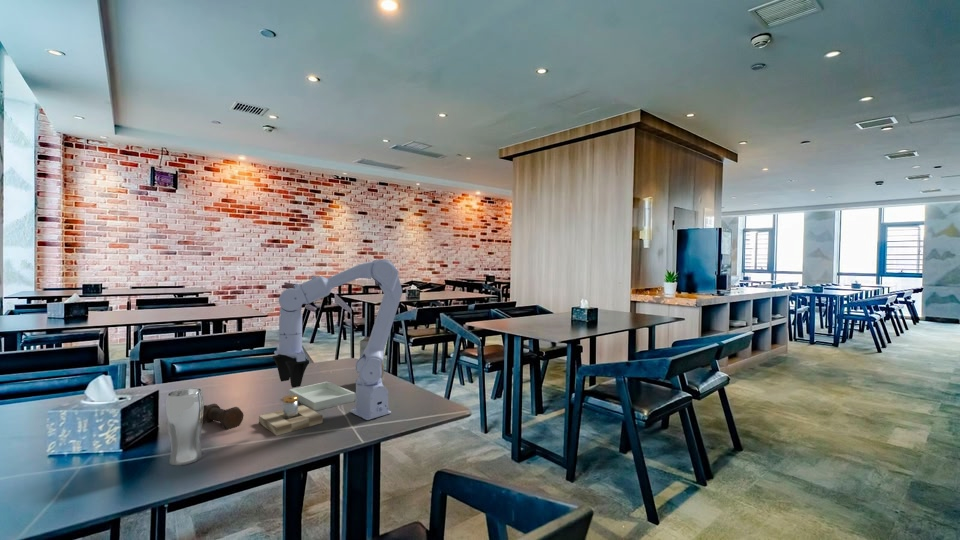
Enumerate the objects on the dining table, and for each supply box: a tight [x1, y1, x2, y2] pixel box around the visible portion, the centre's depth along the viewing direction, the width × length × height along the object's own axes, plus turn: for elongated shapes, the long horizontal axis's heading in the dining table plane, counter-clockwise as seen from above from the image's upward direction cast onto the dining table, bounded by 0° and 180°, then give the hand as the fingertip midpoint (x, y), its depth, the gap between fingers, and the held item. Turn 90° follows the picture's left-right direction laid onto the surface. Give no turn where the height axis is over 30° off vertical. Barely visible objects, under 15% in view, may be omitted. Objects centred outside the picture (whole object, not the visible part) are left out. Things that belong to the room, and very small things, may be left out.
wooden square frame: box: [258, 404, 324, 436], centre depth 118 cm, size 12×12×2 cm
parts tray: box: [288, 381, 356, 412], centre depth 138 cm, size 18×13×2 cm
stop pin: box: [282, 394, 299, 420], centre depth 118 cm, size 4×4×7 cm
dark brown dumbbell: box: [203, 403, 245, 430], centre depth 119 cm, size 6×5×15 cm
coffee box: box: [359, 336, 385, 383], centre depth 154 cm, size 9×6×16 cm
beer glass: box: [165, 387, 205, 467], centre depth 97 cm, size 7×7×15 cm
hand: (290, 383), depth 118 cm, fingers open, 7 cm apart
